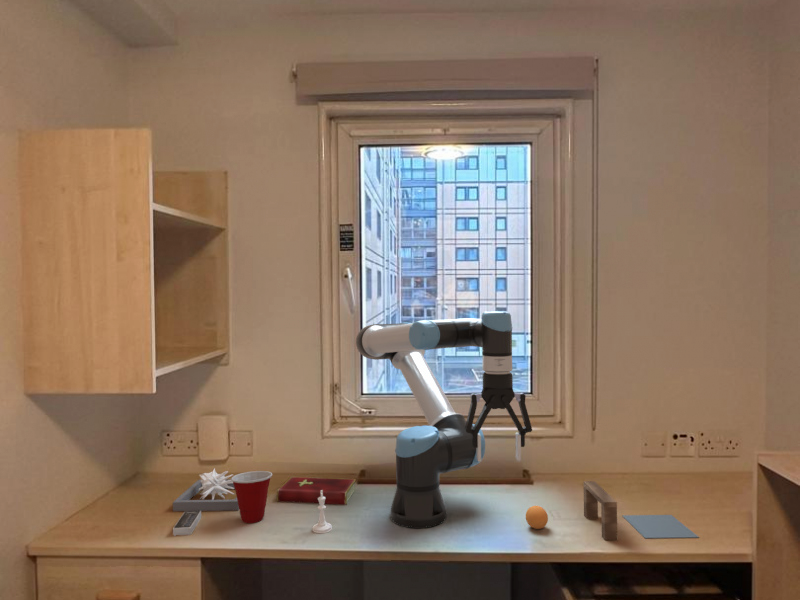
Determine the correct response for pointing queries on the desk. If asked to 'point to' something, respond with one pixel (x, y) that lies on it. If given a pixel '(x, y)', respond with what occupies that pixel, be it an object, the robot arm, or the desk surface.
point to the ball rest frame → (203, 501)
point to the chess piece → (322, 517)
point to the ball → (536, 517)
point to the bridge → (608, 508)
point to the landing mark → (659, 526)
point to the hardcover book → (316, 490)
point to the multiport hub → (187, 523)
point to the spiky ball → (215, 484)
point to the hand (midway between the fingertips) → (498, 459)
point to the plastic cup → (252, 494)
